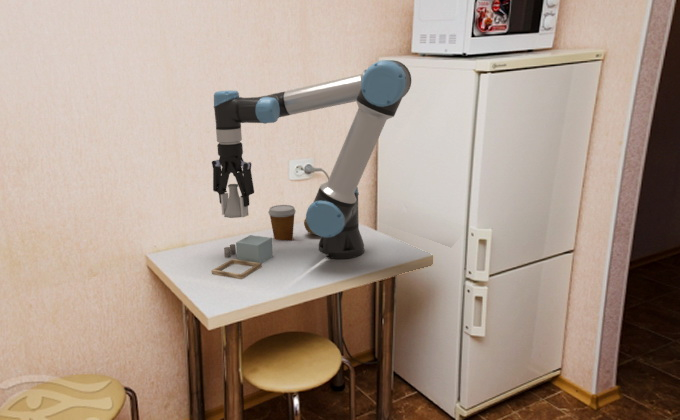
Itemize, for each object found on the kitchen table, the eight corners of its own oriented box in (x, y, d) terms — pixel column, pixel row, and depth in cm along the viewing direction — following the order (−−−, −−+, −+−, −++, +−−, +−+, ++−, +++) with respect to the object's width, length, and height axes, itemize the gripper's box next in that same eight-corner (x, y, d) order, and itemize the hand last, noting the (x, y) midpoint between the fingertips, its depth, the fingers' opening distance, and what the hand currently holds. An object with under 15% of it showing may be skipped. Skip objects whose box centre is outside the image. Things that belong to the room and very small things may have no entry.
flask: (250, 212, 182) (247, 182, 179) (242, 219, 175) (240, 187, 172) (228, 212, 183) (226, 182, 180) (220, 218, 176) (217, 187, 173)
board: (279, 260, 181) (278, 247, 180) (242, 283, 163) (241, 269, 162) (232, 253, 188) (231, 241, 187) (192, 274, 171) (191, 261, 169)
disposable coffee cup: (296, 244, 196) (294, 211, 192) (268, 245, 196) (266, 211, 192) (298, 236, 205) (296, 204, 202) (271, 236, 205) (269, 204, 202)
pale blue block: (272, 256, 181) (271, 237, 179) (258, 264, 174) (257, 245, 172) (251, 253, 184) (250, 235, 183) (237, 261, 177) (235, 242, 176)
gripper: (263, 142, 171) (268, 215, 177) (212, 139, 180) (218, 208, 186) (248, 145, 165) (253, 221, 171) (196, 142, 174) (203, 214, 180)
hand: (235, 214), depth 179 cm, fingers closed on flask, 7 cm apart
